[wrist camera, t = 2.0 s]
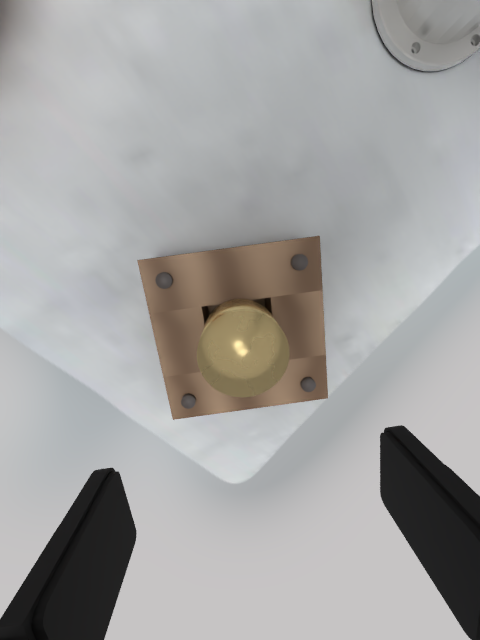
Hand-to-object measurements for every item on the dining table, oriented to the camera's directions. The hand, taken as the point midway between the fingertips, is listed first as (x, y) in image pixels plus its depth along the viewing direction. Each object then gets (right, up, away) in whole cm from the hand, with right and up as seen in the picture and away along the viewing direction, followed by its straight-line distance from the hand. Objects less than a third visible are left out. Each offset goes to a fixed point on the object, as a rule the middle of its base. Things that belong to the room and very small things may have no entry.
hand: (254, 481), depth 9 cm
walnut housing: (-1, +6, +21) cm, 22 cm away
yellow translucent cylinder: (-1, +6, +20) cm, 21 cm away
